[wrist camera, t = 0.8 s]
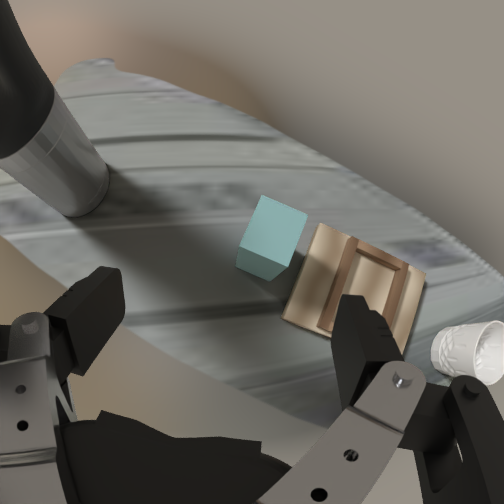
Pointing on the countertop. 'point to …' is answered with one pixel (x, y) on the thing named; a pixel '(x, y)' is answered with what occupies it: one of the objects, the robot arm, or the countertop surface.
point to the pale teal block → (270, 239)
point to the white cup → (471, 351)
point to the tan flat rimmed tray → (352, 284)
